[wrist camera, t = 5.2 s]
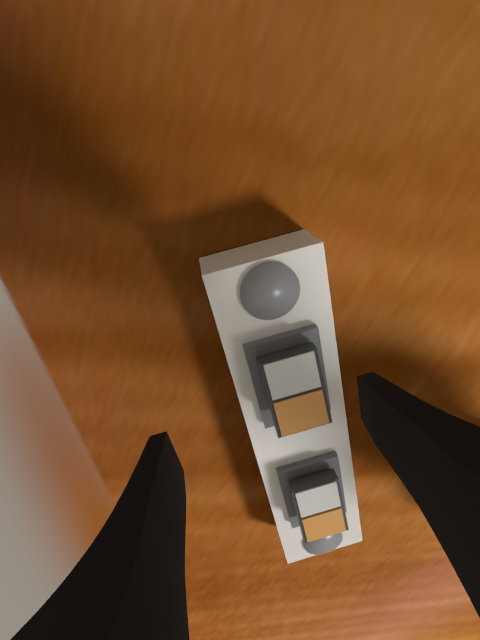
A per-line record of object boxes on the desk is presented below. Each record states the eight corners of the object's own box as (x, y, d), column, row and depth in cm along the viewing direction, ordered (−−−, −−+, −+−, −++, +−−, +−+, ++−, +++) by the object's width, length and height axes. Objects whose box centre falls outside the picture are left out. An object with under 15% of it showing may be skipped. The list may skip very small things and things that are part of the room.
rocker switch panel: (346, 506, 31) (365, 547, 28) (278, 527, 31) (289, 570, 28) (304, 229, 20) (326, 244, 17) (198, 258, 20) (202, 279, 17)
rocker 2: (343, 518, 25) (349, 531, 24) (300, 531, 25) (305, 544, 24) (333, 468, 23) (339, 479, 22) (287, 481, 23) (291, 493, 22)
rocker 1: (326, 413, 20) (333, 423, 19) (274, 428, 20) (278, 439, 19) (311, 341, 19) (317, 348, 18) (256, 357, 19) (259, 365, 18)
